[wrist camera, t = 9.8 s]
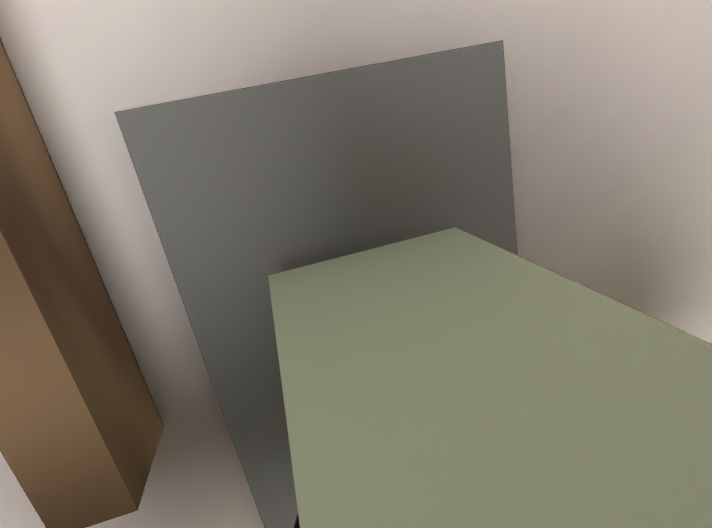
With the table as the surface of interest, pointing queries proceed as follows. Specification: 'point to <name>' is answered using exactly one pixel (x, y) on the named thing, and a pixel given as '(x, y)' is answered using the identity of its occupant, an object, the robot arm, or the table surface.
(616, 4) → the table surface
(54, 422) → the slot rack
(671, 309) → the table surface
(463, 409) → the green block
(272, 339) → the floor mat
